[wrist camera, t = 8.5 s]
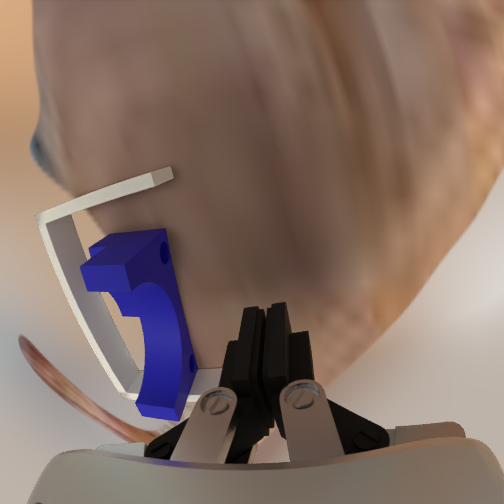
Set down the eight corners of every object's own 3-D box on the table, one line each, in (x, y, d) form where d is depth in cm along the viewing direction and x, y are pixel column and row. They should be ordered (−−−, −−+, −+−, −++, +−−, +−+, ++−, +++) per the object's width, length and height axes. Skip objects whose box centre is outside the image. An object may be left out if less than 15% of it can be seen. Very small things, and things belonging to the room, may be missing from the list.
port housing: (60, 204, 19) (35, 215, 16) (170, 165, 18) (150, 172, 15) (135, 376, 25) (123, 398, 22) (235, 374, 23) (230, 400, 20)
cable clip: (111, 233, 20) (61, 267, 14) (166, 227, 19) (124, 264, 14) (150, 363, 24) (124, 412, 19) (198, 366, 24) (179, 421, 18)
